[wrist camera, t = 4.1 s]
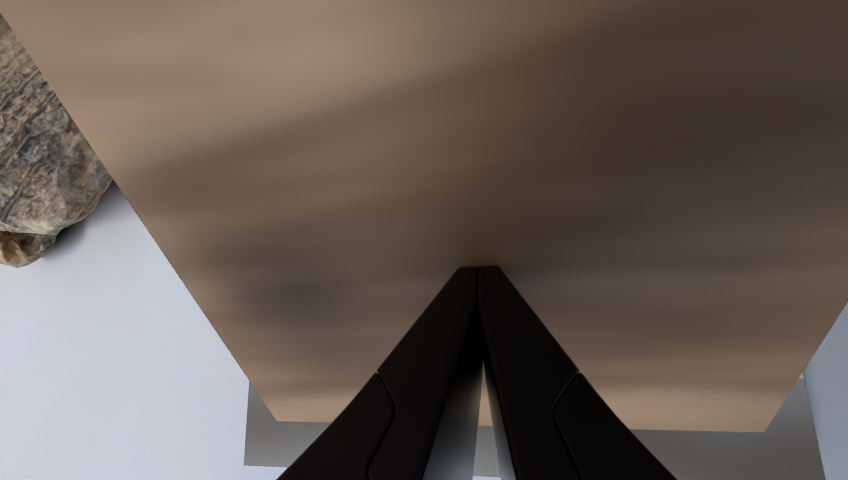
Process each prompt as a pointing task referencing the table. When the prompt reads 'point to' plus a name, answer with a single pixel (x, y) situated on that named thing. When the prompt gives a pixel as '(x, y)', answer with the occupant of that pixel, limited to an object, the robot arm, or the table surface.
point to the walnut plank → (482, 179)
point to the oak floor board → (676, 449)
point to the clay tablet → (39, 160)
